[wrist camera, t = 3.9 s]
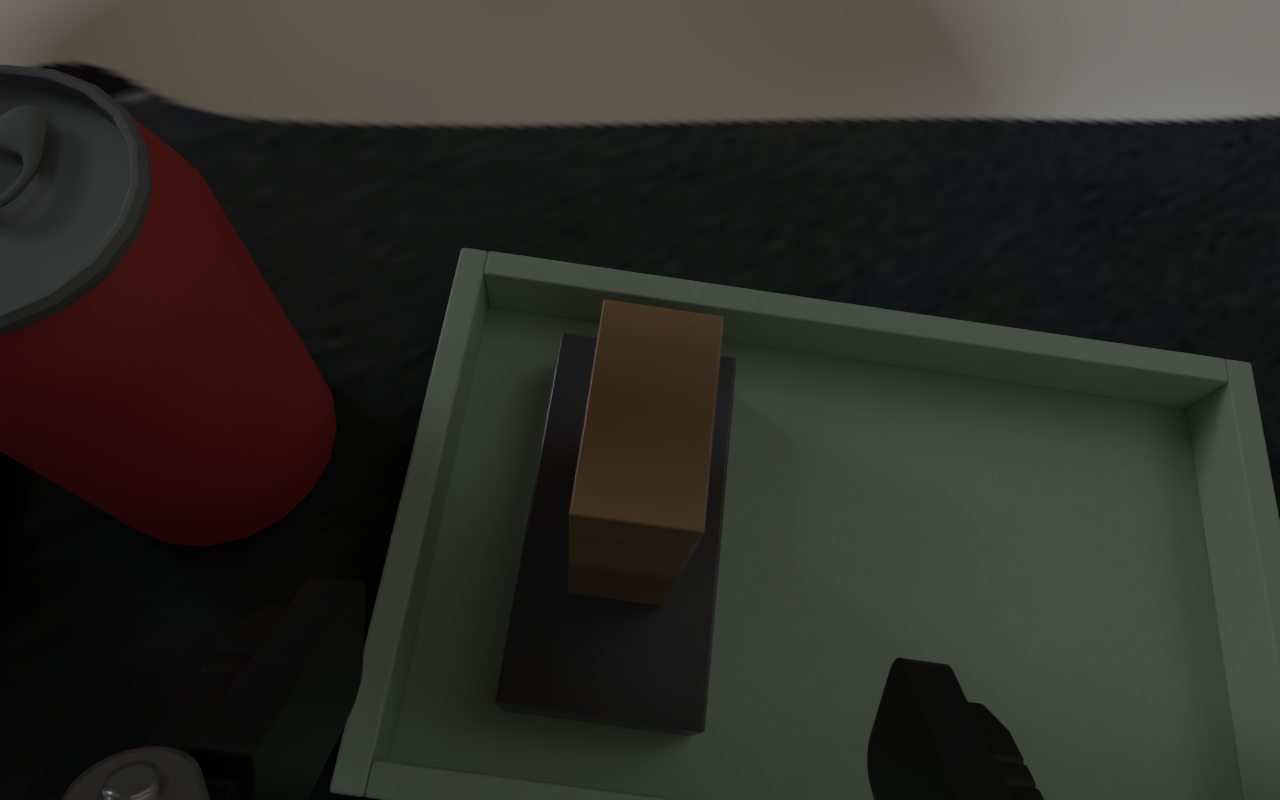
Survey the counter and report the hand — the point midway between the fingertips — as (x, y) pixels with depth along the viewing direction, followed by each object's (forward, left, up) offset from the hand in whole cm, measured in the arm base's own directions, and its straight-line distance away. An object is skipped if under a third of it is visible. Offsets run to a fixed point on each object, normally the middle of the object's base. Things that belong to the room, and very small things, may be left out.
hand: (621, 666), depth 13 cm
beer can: (-13, -1, -11) cm, 18 cm away
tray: (+3, +7, -11) cm, 14 cm away
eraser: (-2, +4, -10) cm, 11 cm away
